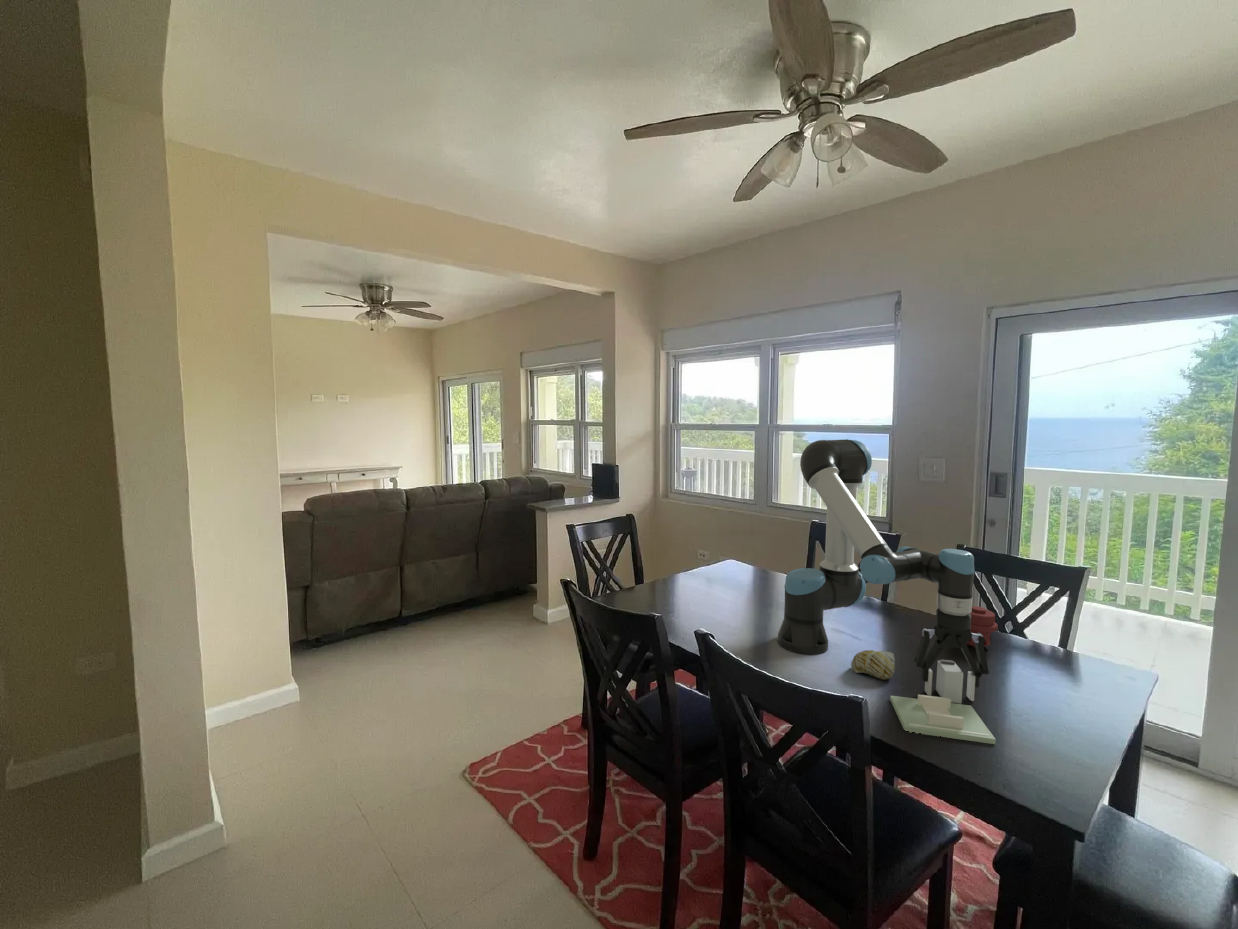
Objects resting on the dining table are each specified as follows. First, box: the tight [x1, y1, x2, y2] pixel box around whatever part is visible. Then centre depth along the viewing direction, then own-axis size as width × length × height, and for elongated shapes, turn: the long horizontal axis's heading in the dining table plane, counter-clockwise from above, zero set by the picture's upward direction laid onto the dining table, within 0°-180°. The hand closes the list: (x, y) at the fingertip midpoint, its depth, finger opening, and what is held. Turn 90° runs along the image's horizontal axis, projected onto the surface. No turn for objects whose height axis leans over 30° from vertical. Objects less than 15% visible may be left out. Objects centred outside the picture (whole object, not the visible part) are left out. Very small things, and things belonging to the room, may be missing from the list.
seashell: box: [850, 649, 896, 681], centre depth 147 cm, size 10×10×10 cm
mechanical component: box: [966, 605, 998, 649], centre depth 165 cm, size 12×10×10 cm
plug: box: [935, 659, 964, 704], centre depth 135 cm, size 4×6×9 cm, turn 165°
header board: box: [889, 694, 997, 745], centre depth 124 cm, size 18×14×4 cm
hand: (948, 695), depth 135 cm, fingers open, 9 cm apart
